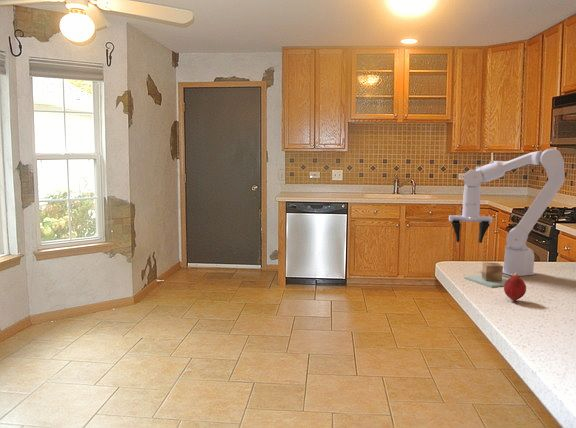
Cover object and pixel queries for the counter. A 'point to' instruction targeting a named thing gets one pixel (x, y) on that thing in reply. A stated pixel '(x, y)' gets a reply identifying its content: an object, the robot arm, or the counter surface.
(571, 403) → the counter surface
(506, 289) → the onion
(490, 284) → the ceramic tile
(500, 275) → the walnut cube
